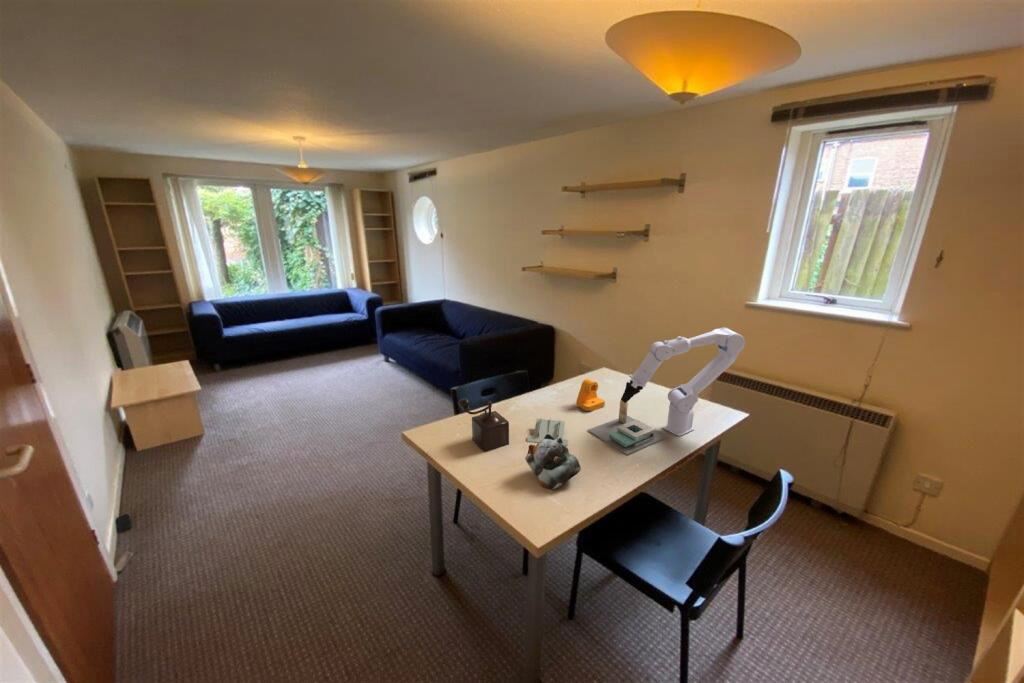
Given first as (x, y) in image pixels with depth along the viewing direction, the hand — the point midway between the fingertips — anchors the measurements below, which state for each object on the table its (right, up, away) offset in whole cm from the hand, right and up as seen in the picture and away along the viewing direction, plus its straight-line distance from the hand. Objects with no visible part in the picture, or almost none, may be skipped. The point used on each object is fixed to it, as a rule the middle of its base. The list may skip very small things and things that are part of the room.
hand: (624, 399), depth 151 cm
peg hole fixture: (+1, -14, -4) cm, 15 cm away
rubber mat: (+1, -13, +1) cm, 13 cm away
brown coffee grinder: (-53, -15, -5) cm, 56 cm away
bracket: (-8, -7, +24) cm, 26 cm away
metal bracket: (-29, -14, 0) cm, 32 cm away
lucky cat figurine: (-30, -21, -24) cm, 44 cm away
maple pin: (+2, -10, +9) cm, 13 cm away
